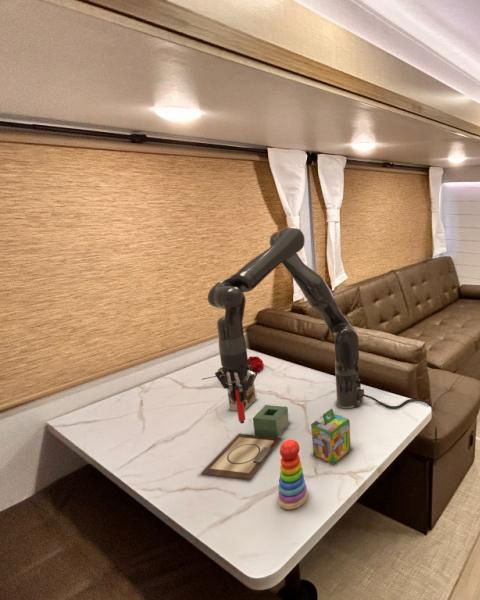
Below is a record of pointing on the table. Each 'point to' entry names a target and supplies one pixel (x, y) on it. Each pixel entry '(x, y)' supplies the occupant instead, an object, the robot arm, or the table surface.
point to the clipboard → (242, 457)
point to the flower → (254, 361)
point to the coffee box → (250, 396)
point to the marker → (239, 405)
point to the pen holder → (271, 421)
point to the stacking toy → (291, 477)
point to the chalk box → (331, 437)
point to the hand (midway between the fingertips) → (239, 400)
